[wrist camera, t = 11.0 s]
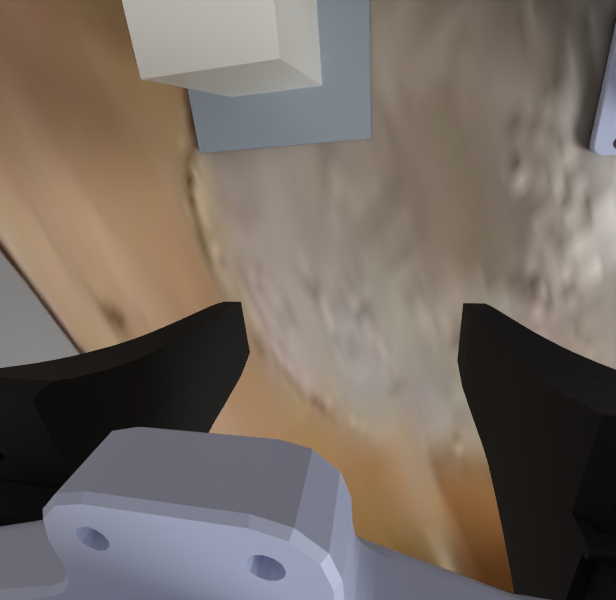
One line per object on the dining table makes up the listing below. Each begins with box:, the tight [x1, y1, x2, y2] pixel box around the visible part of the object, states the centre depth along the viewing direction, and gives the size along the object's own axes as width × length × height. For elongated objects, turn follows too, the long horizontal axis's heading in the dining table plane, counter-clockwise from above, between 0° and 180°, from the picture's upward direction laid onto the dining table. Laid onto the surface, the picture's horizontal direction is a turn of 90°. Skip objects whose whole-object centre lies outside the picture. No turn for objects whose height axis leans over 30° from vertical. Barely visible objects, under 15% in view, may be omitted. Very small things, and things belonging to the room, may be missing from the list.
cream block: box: [122, 0, 322, 97], centre depth 13 cm, size 4×4×8 cm
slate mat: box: [187, 0, 371, 153], centre depth 17 cm, size 9×9×1 cm
